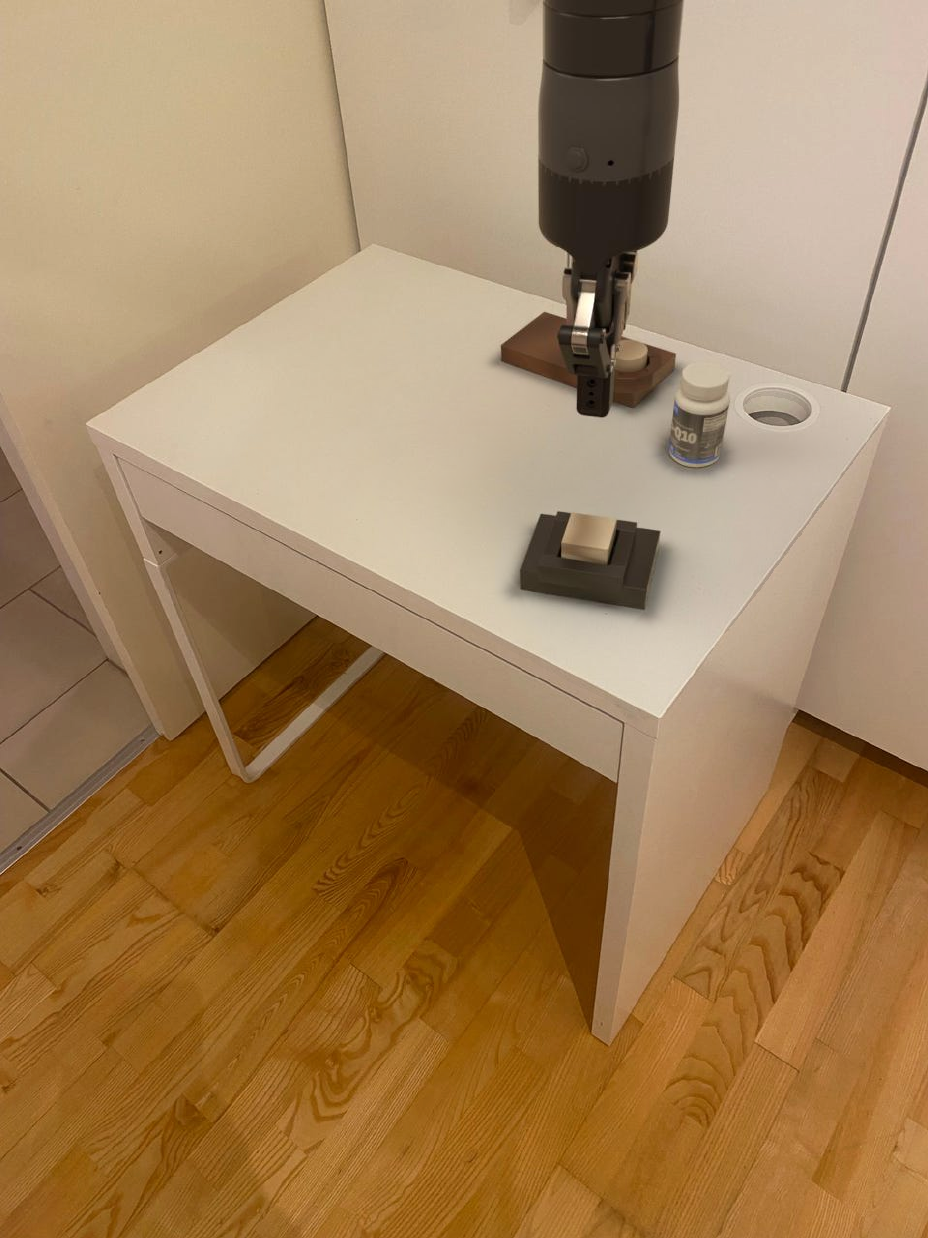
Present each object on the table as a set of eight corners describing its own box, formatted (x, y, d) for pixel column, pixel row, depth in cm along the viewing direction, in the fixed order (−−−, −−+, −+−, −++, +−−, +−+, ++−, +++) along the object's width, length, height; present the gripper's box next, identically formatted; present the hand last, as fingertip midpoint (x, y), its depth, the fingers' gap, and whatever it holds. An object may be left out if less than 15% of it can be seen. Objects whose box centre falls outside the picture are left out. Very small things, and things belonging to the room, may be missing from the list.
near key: (615, 535, 75) (616, 518, 74) (607, 566, 73) (608, 549, 72) (570, 528, 76) (571, 511, 75) (561, 558, 74) (561, 542, 73)
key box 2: (658, 550, 79) (662, 513, 76) (642, 618, 74) (646, 581, 71) (540, 532, 82) (540, 496, 79) (517, 597, 76) (516, 561, 74)
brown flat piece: (683, 372, 97) (687, 342, 94) (637, 417, 92) (639, 385, 89) (544, 327, 104) (544, 297, 102) (495, 365, 100) (493, 335, 97)
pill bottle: (657, 448, 88) (666, 369, 82) (699, 431, 90) (710, 352, 84) (689, 475, 86) (700, 395, 79) (731, 457, 87) (745, 377, 81)
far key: (653, 360, 93) (654, 346, 92) (634, 377, 91) (635, 363, 90) (621, 349, 95) (622, 335, 94) (601, 366, 93) (602, 352, 92)
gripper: (655, 202, 48) (632, 476, 60) (690, 105, 56) (664, 363, 69) (509, 192, 49) (516, 461, 62) (565, 100, 58) (561, 353, 71)
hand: (594, 409), depth 65 cm, fingers closed
